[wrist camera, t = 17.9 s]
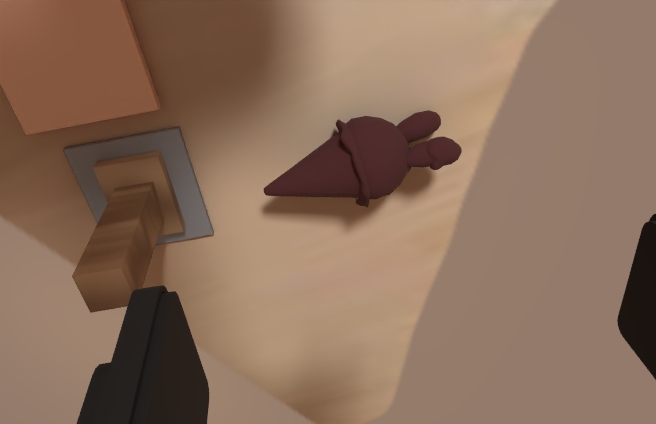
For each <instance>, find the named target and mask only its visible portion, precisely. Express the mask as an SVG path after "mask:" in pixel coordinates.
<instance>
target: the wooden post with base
mask: <svg viewBox="0 0 656 424" xmlns="http://www.w3.org/2000/svg"><path fill="white" fill-rule="evenodd" d="M93 169H94V172H95V174H96V176H97V179H98V181H99V183H100V186H101V188H102V191H103V193H104V195H105V198H106V200H107V202H108V204H107V206H106V208H105V210H104V212H103V214H102V216H101V218H100V220H99V222H98V224H97V226H96V228H95V230H94V232H93V234H92V237H91V239H90V241H89V243H88V245H87V247H86V249H85V251H84V253H83V255H82V257H81V259H80V261H79V263H78V265H77V267H76V269H75V272H74V274H73V276H72V277H73V279H74V281H75V283H76V285H77V287H78V289H79V291H80V293H81V295H82V297H83V299H84V301H85V303H86V305H87V306H88V308H89V310H90V312H96V311H102V310H108V309H114V308H119V307H125V306H128V304H129V300H130V297H131V294H132V292H133V291H134V290H136V289H142V286H143V283H144V280H145V276H146V273H147V270H148V266H149V263H150V260H151V257H152V253H153V250H154V247H155V243H156V240H157V237H158V236H161V235H167V234H172V233H178V232H184V228H185V221H184V218H183V215H182V212H181V209H180V206H179V203H178V200H177V198H176V195H175V192H174V189H173V186H172V183H171V180H170V177H169V174H168V171H167V168H166V165H165V162H164V159H163V156H162V153H161V150H158V151H152V152H146V153H140V154H134V155H128V156H122V157H117V158H111V159H105V160H99V161H97V162H96V163H95V165H94V167H93Z"/></svg>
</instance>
